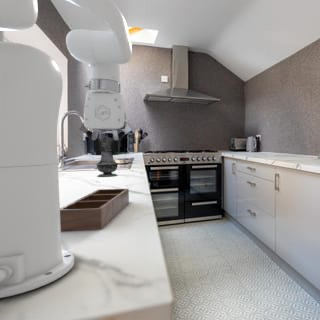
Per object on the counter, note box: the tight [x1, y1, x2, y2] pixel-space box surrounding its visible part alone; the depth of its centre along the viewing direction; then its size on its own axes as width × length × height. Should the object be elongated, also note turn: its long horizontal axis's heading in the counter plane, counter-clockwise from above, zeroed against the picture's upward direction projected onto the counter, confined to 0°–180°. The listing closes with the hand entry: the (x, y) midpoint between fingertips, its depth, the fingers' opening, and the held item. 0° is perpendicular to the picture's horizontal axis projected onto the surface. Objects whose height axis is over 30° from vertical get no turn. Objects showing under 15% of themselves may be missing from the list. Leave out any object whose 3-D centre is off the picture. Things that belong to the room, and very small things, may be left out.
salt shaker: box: [95, 133, 120, 178], centre depth 74 cm, size 6×6×12 cm
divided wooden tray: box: [60, 188, 130, 232], centre depth 67 cm, size 25×9×4 cm, turn 10°
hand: (107, 154), depth 74 cm, fingers closed on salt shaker, 3 cm apart
